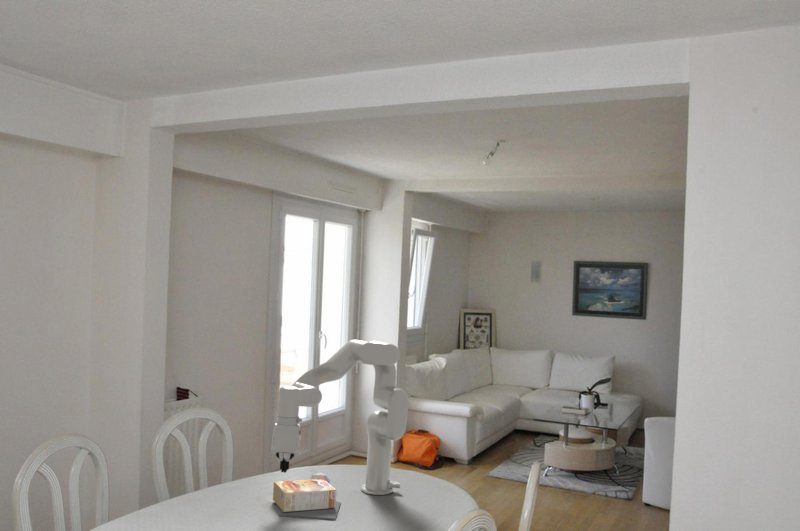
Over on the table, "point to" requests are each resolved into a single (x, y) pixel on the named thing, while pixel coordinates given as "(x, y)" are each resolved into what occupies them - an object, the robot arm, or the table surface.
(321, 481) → the coffeecake box
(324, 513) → the mat
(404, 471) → the table surface
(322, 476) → the die
